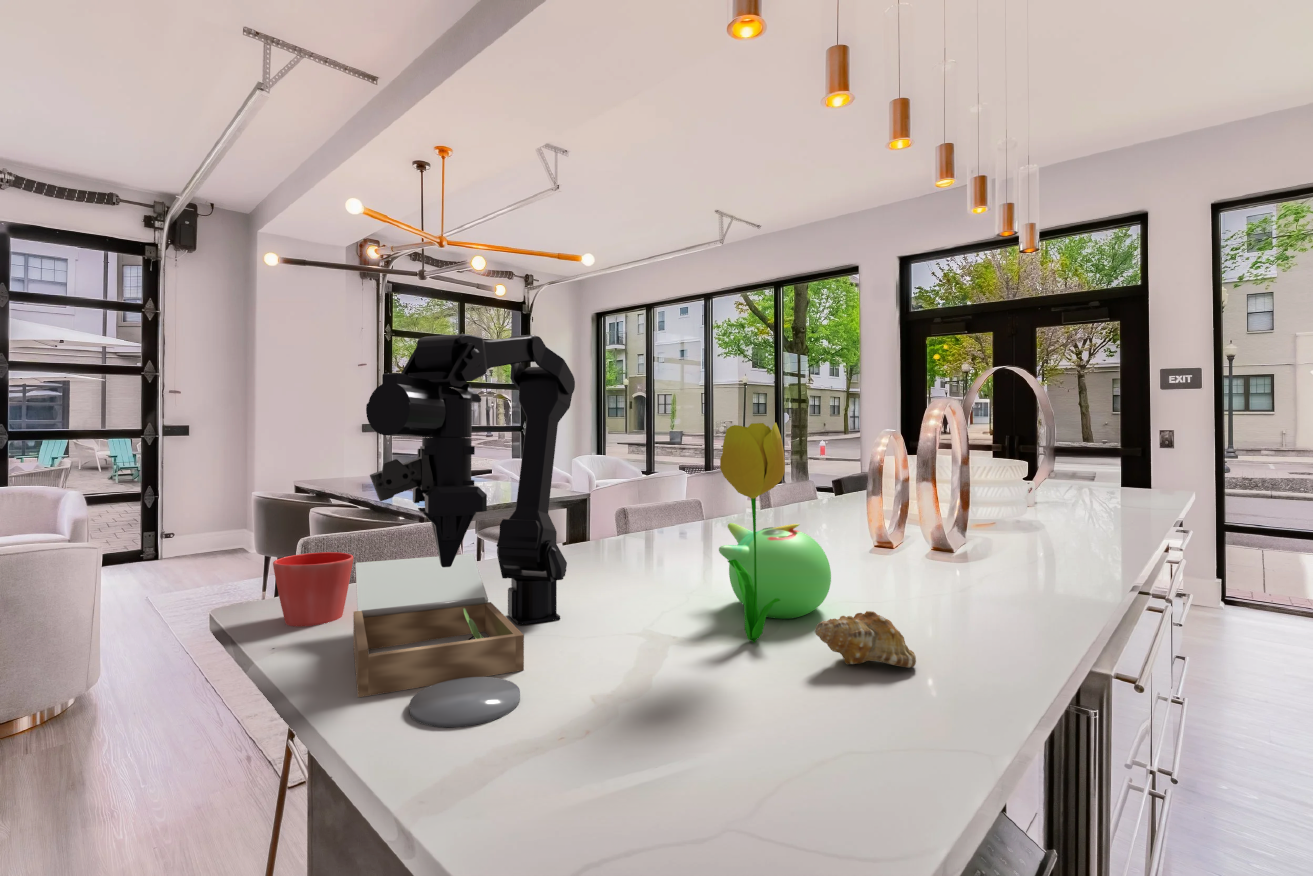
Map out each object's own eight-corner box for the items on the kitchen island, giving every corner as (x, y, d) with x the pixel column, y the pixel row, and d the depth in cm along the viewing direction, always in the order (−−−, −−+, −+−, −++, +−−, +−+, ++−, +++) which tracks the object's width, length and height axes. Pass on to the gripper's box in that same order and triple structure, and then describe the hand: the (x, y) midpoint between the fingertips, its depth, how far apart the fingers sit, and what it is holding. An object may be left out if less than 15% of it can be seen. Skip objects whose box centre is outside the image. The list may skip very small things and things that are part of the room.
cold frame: (490, 631, 92) (490, 596, 92) (523, 670, 76) (523, 628, 76) (353, 649, 84) (353, 611, 84) (358, 697, 68) (358, 650, 68)
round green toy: (837, 635, 90) (837, 531, 90) (718, 630, 92) (717, 529, 92) (825, 604, 107) (824, 517, 108) (725, 600, 110) (724, 515, 110)
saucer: (506, 677, 73) (506, 670, 73) (532, 713, 64) (532, 705, 64) (404, 694, 68) (404, 687, 68) (416, 736, 59) (416, 727, 59)
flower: (792, 641, 87) (791, 422, 87) (778, 659, 80) (777, 420, 80) (732, 633, 91) (731, 423, 91) (713, 650, 83) (712, 422, 84)
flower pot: (320, 633, 91) (320, 565, 91) (255, 628, 93) (256, 562, 94) (368, 613, 102) (368, 553, 102) (308, 610, 104) (309, 551, 104)
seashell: (887, 707, 71) (841, 631, 71) (839, 696, 78) (798, 627, 78) (933, 655, 75) (890, 583, 75) (883, 650, 82) (844, 584, 82)
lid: (473, 614, 101) (473, 553, 101) (488, 633, 91) (488, 565, 91) (355, 629, 93) (355, 562, 93) (357, 650, 83) (358, 576, 83)
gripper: (371, 438, 82) (370, 559, 82) (378, 435, 65) (376, 588, 65) (460, 439, 87) (459, 553, 86) (488, 436, 70) (487, 578, 70)
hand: (445, 566), depth 77 cm, fingers closed
